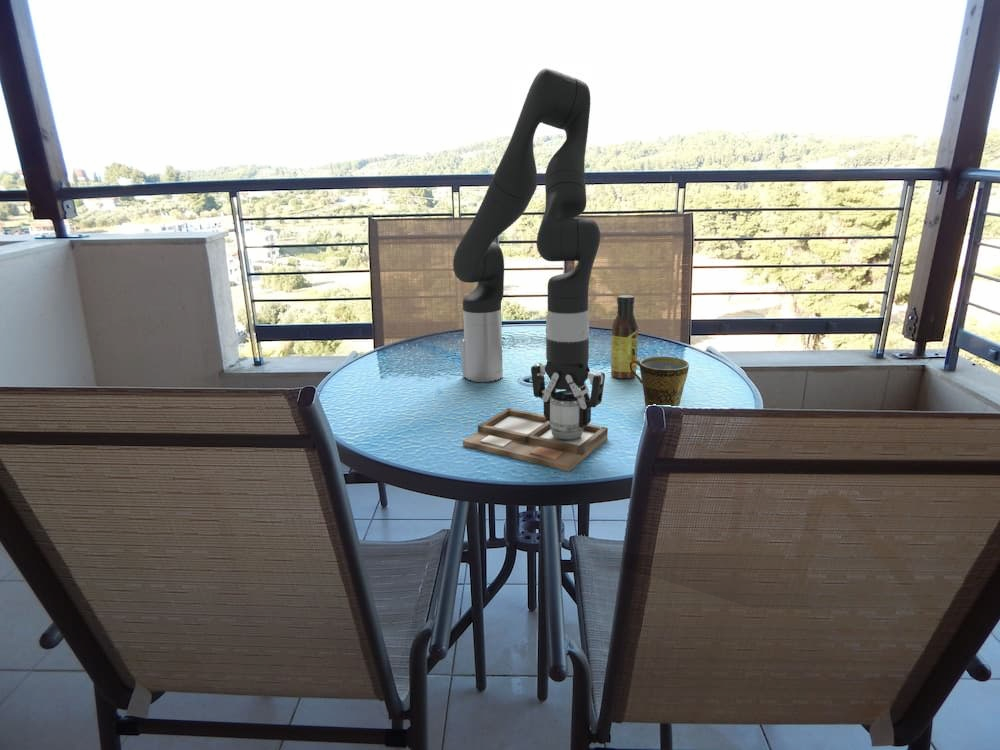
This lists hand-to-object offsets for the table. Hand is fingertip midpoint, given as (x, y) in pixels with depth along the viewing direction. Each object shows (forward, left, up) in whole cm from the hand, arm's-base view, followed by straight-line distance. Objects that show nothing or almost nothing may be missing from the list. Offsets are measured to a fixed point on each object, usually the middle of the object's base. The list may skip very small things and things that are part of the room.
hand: (566, 422), depth 115 cm
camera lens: (0, 0, -2) cm, 2 cm away
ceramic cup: (+8, +26, -4) cm, 28 cm away
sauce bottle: (-6, +43, -4) cm, 44 cm away
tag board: (-5, -3, -4) cm, 7 cm away
